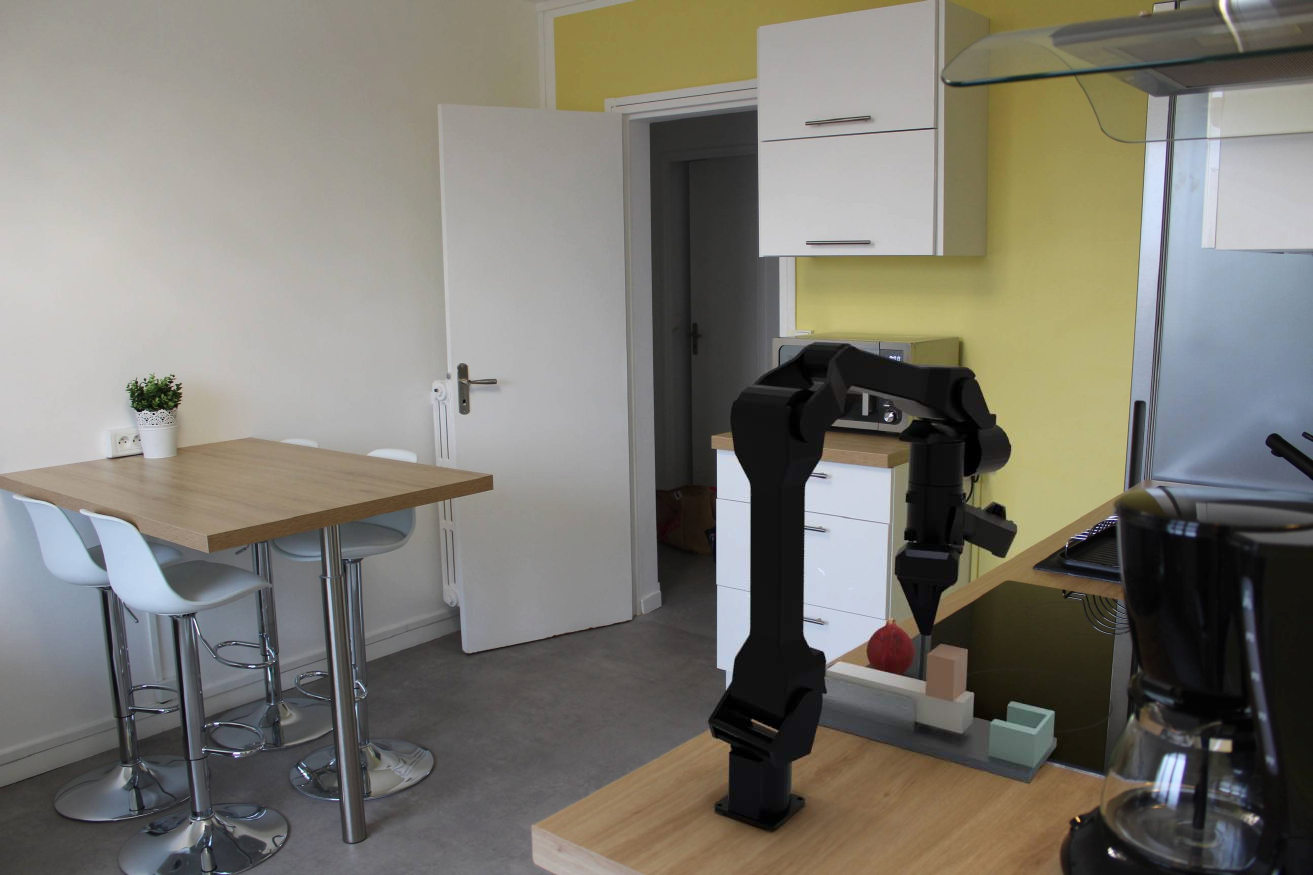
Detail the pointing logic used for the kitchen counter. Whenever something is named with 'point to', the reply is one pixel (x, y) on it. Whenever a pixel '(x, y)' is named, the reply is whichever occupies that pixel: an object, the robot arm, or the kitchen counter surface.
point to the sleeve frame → (913, 728)
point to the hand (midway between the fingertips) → (929, 622)
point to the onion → (890, 649)
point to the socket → (1022, 734)
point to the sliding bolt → (923, 687)
